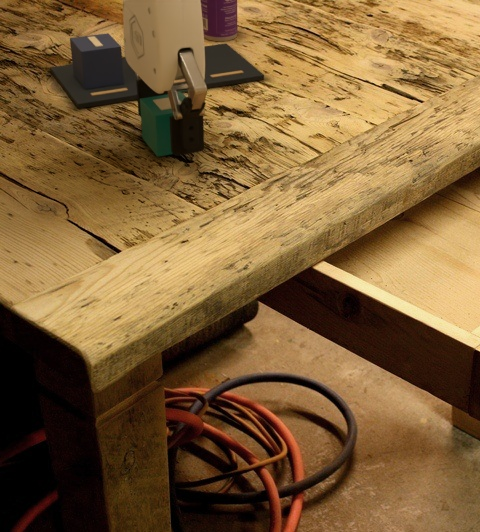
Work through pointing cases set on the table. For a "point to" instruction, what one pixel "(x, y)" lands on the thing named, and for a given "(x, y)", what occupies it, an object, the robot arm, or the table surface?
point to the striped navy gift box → (97, 61)
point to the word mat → (216, 74)
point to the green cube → (157, 122)
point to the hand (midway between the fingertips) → (170, 132)
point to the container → (219, 19)
